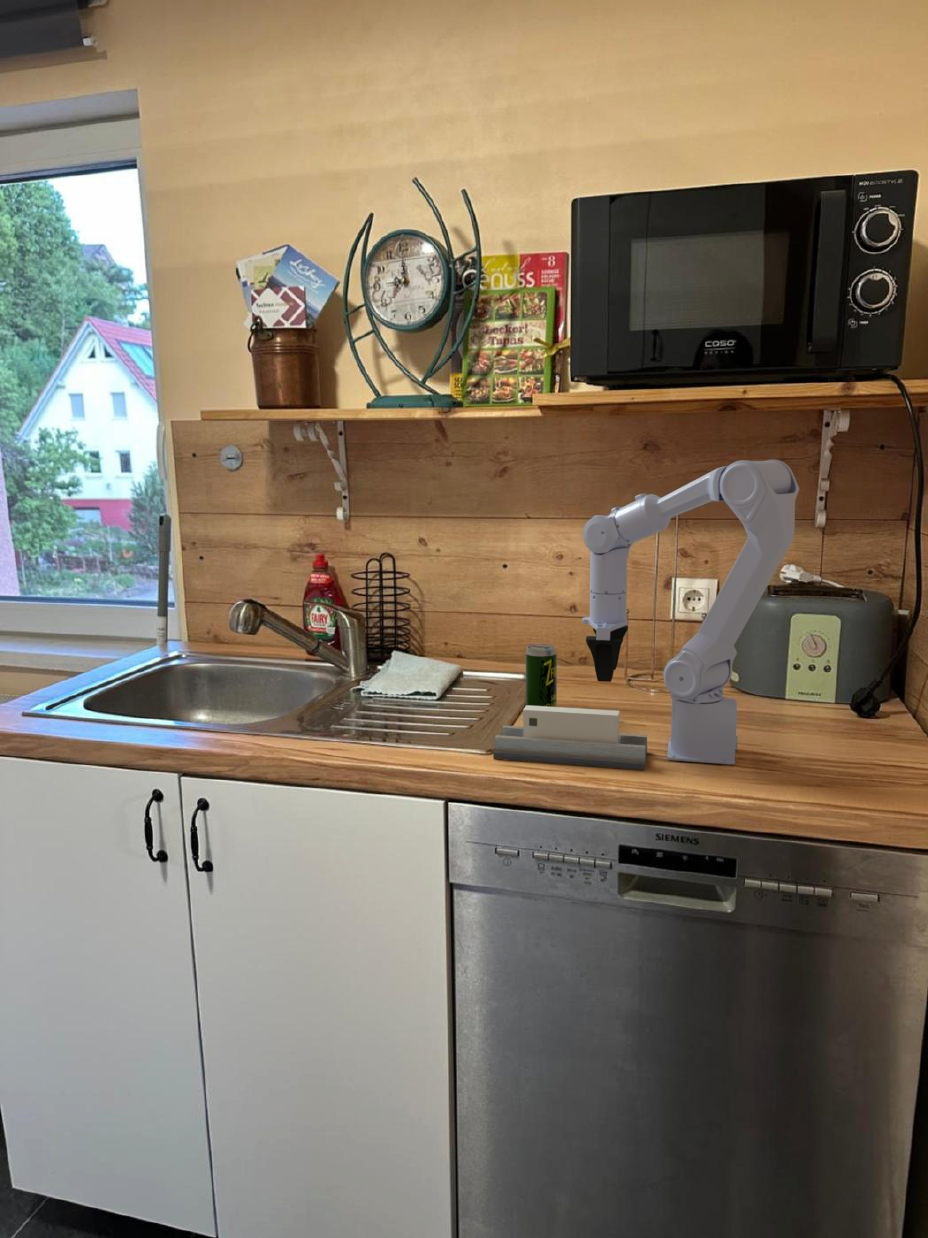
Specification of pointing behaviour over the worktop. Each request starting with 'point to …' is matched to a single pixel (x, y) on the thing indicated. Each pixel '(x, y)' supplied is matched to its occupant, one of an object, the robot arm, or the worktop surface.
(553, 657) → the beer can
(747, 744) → the worktop surface
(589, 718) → the door panel
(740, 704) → the worktop surface
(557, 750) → the track
